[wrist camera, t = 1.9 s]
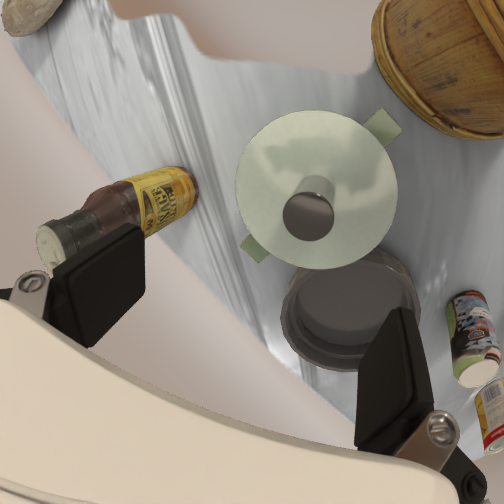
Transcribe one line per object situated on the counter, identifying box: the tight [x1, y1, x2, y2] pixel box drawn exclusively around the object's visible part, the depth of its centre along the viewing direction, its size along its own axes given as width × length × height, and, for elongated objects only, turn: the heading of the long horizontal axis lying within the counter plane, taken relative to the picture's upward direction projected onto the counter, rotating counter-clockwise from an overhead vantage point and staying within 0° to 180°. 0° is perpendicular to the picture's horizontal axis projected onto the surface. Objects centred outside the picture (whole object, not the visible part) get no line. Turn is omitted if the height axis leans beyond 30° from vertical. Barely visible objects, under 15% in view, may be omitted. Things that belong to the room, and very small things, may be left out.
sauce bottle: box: [36, 166, 198, 274], centre depth 25 cm, size 7×6×20 cm
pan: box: [280, 248, 421, 372], centre depth 32 cm, size 16×16×4 cm
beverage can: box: [446, 290, 501, 388], centre depth 24 cm, size 6×7×12 cm
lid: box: [235, 110, 398, 269], centre depth 19 cm, size 13×13×7 cm
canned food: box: [475, 379, 504, 454], centre depth 28 cm, size 8×8×12 cm
